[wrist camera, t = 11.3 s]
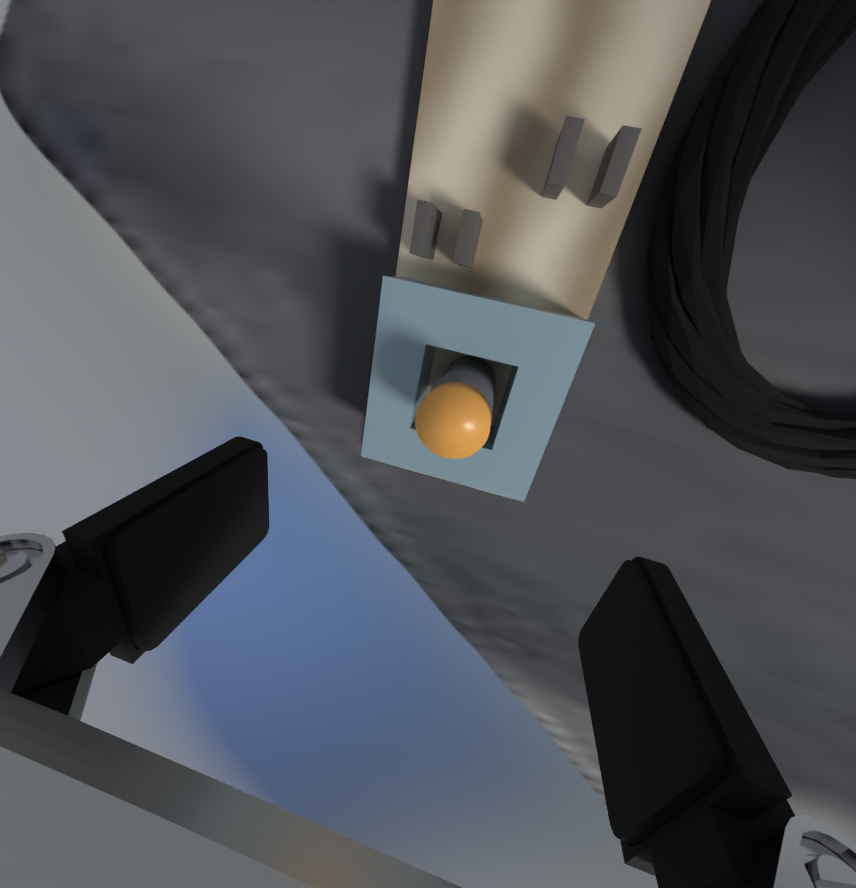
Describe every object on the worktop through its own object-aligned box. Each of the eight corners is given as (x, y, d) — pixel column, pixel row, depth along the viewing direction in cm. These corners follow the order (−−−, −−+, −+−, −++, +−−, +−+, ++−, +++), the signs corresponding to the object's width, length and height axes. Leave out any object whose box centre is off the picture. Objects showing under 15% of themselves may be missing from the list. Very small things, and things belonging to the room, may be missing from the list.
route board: (854, -393, 11) (1015, -705, 8) (517, 491, 27) (518, 522, 24) (497, -402, 12) (494, -677, 9) (375, 452, 29) (357, 476, 25)
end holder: (579, 316, 20) (595, 323, 17) (521, 471, 25) (523, 501, 22) (403, 277, 21) (383, 275, 18) (380, 433, 26) (361, 455, 23)
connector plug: (502, 362, 22) (500, 399, 15) (487, 413, 24) (479, 467, 17) (449, 350, 23) (422, 379, 16) (437, 400, 24) (409, 447, 17)
